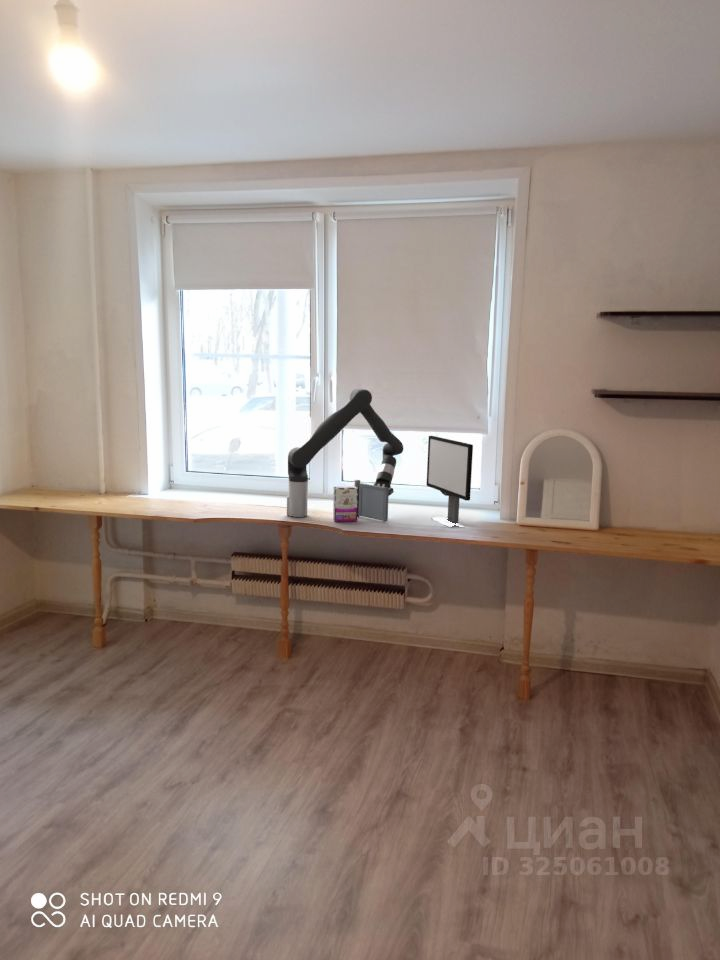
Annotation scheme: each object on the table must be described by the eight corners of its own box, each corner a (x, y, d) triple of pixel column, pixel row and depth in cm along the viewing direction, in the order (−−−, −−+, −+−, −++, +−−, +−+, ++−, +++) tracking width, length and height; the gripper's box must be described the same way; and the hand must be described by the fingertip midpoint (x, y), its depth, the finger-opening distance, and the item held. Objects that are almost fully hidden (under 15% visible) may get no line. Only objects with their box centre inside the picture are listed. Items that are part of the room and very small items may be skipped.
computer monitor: (421, 514, 352) (424, 435, 346) (436, 513, 355) (439, 435, 348) (460, 533, 314) (465, 444, 308) (476, 532, 317) (481, 444, 311)
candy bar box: (355, 519, 335) (356, 486, 333) (357, 521, 331) (358, 487, 328) (332, 519, 333) (333, 486, 331) (334, 522, 328) (335, 488, 326)
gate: (358, 515, 340) (359, 483, 338) (360, 515, 342) (361, 483, 339) (385, 521, 329) (386, 488, 327) (387, 521, 330) (388, 487, 328)
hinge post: (352, 516, 342) (353, 480, 339) (354, 515, 344) (355, 479, 342) (357, 517, 341) (359, 481, 338) (360, 516, 343) (361, 480, 340)
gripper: (371, 469, 343) (362, 498, 334) (396, 471, 338) (388, 501, 329) (374, 478, 349) (365, 507, 340) (399, 480, 344) (391, 509, 335)
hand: (376, 504), depth 335 cm, fingers closed
